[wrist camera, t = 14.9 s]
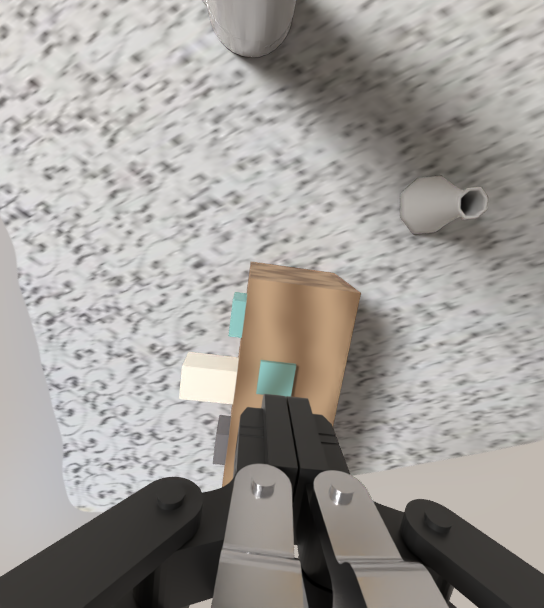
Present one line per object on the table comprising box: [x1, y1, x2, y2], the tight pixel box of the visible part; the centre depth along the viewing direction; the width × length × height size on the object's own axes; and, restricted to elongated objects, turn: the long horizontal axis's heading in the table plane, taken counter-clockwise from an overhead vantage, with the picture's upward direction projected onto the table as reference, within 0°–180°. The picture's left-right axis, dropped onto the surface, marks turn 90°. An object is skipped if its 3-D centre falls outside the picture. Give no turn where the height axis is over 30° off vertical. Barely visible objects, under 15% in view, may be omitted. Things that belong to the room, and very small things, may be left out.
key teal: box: [229, 292, 247, 338], centre depth 40 cm, size 10×4×4 cm, turn 82°
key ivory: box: [179, 352, 239, 404], centre depth 41 cm, size 10×4×4 cm, turn 82°
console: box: [222, 262, 361, 487], centre depth 43 cm, size 11×26×12 cm, turn 172°
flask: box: [400, 176, 488, 234], centre depth 40 cm, size 7×7×10 cm
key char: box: [213, 415, 231, 465], centre depth 44 cm, size 10×4×4 cm, turn 82°
